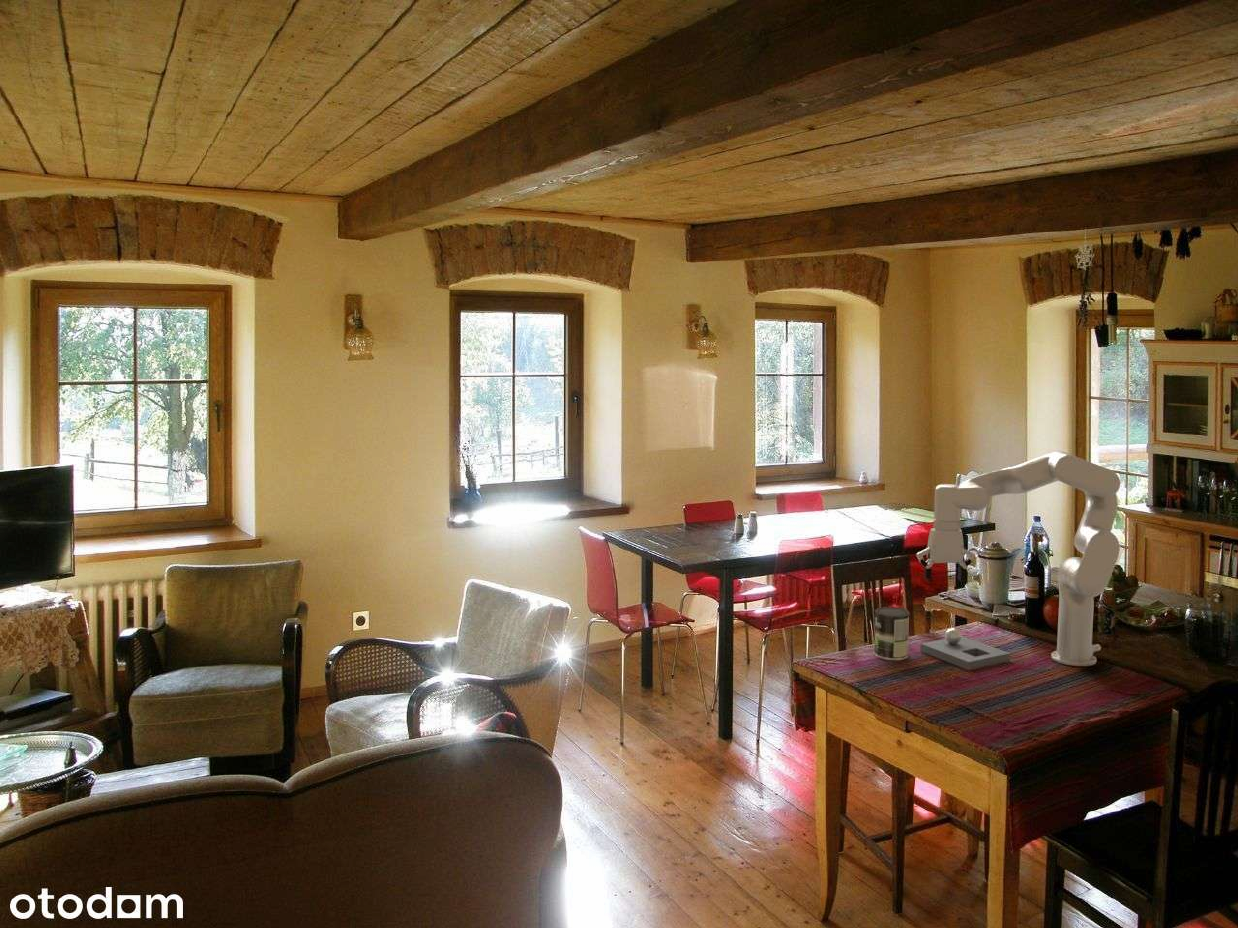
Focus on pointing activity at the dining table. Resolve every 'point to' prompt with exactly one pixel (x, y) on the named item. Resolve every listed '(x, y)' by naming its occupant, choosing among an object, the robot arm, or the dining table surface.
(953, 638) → the steel ball
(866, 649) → the dining table surface
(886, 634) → the coffee can
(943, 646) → the hole board
